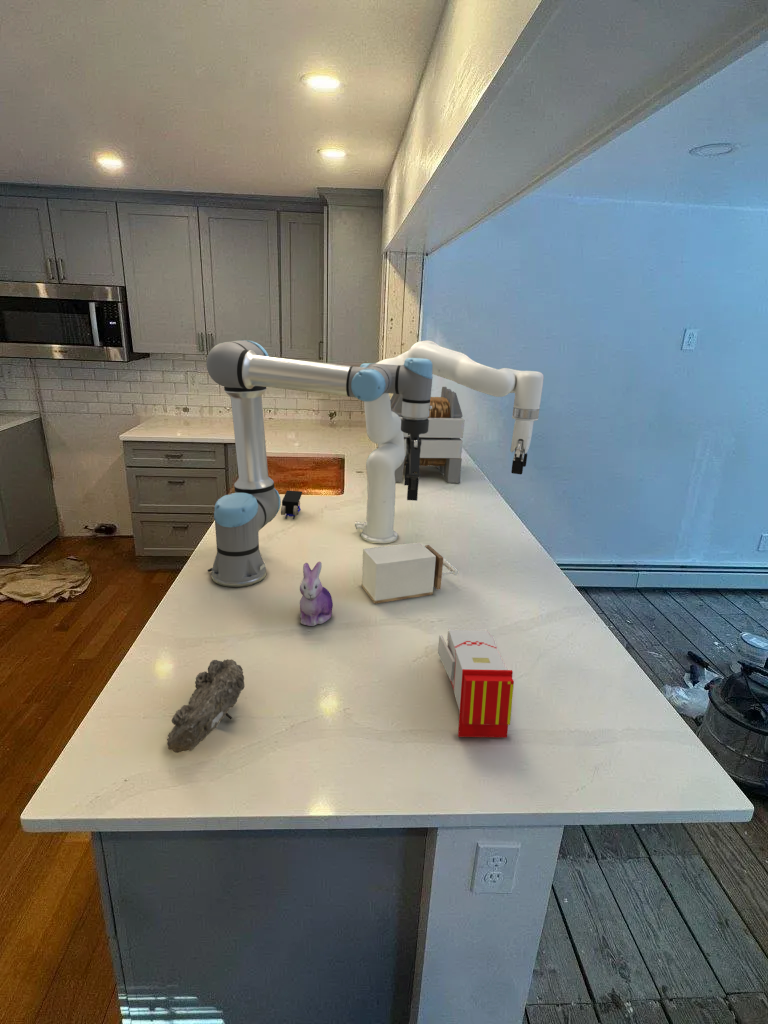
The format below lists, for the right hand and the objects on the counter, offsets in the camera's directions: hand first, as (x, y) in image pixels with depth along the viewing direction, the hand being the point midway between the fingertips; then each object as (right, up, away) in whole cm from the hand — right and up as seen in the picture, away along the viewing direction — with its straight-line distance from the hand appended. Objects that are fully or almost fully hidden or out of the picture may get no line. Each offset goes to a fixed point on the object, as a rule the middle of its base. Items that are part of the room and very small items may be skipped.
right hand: (518, 469), depth 174 cm
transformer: (-24, +6, +101) cm, 104 cm away
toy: (-23, -51, -55) cm, 78 cm away
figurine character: (-76, -14, +40) cm, 87 cm away
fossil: (-74, -52, -65) cm, 112 cm away
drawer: (-32, -34, -12) cm, 48 cm away
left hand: (-34, -7, -13) cm, 37 cm away
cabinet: (-38, -35, -14) cm, 53 cm away
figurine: (-59, -40, -30) cm, 77 cm away
